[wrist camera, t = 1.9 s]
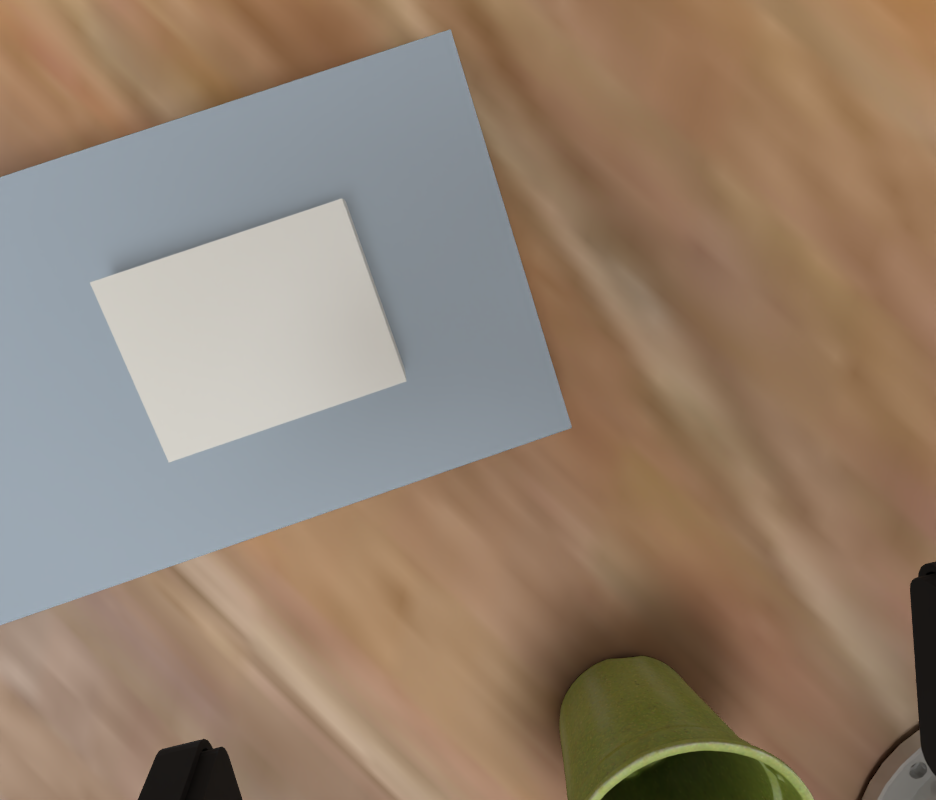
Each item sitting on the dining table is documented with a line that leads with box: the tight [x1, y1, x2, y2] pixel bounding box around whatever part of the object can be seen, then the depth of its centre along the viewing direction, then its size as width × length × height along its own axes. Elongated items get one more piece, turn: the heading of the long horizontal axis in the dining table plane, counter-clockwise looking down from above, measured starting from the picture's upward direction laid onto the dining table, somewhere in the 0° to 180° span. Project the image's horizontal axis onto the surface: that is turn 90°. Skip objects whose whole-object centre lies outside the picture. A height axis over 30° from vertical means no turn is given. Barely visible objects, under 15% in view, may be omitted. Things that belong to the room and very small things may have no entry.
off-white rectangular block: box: [90, 199, 406, 462], centre depth 26 cm, size 8×6×2 cm
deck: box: [0, 29, 572, 625], centre depth 29 cm, size 22×14×4 cm, turn 108°
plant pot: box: [559, 656, 814, 800], centre depth 32 cm, size 9×9×9 cm
